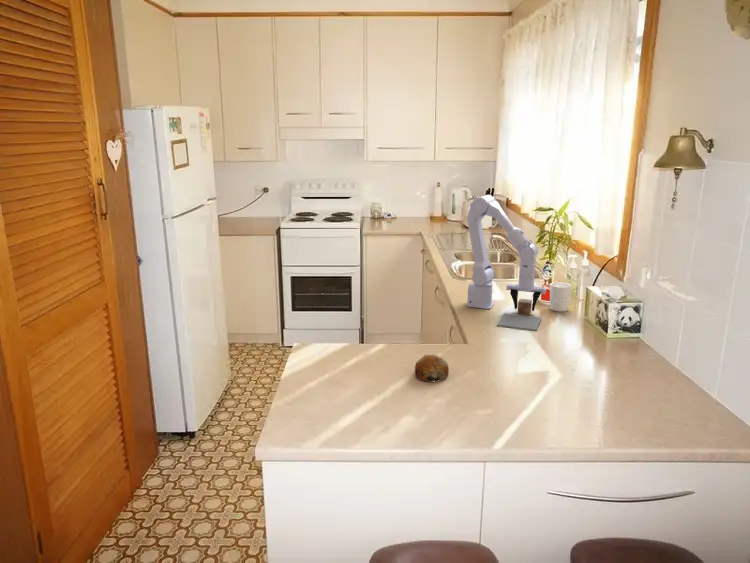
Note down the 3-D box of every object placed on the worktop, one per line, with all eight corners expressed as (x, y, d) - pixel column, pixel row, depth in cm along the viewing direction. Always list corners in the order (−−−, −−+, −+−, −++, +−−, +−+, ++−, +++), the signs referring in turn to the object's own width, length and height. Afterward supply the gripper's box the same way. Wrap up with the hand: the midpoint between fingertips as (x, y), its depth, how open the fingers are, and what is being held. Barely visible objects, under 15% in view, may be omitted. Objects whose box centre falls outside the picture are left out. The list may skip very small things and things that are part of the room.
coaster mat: (496, 326, 205) (497, 324, 205) (503, 314, 218) (503, 313, 218) (536, 331, 200) (536, 329, 200) (541, 319, 213) (541, 317, 213)
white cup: (566, 306, 228) (568, 282, 225) (571, 312, 220) (573, 287, 217) (546, 305, 228) (548, 281, 226) (550, 311, 221) (552, 287, 218)
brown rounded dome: (450, 385, 167) (454, 358, 168) (440, 384, 158) (445, 356, 159) (419, 379, 171) (423, 353, 172) (407, 378, 162) (412, 350, 163)
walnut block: (517, 314, 219) (518, 301, 217) (519, 310, 223) (519, 298, 221) (529, 315, 217) (530, 303, 216) (530, 312, 221) (531, 299, 220)
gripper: (505, 276, 215) (503, 310, 218) (545, 279, 209) (542, 314, 213) (508, 271, 221) (506, 305, 225) (547, 275, 216) (544, 309, 219)
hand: (524, 309), depth 219 cm, fingers open, 6 cm apart
